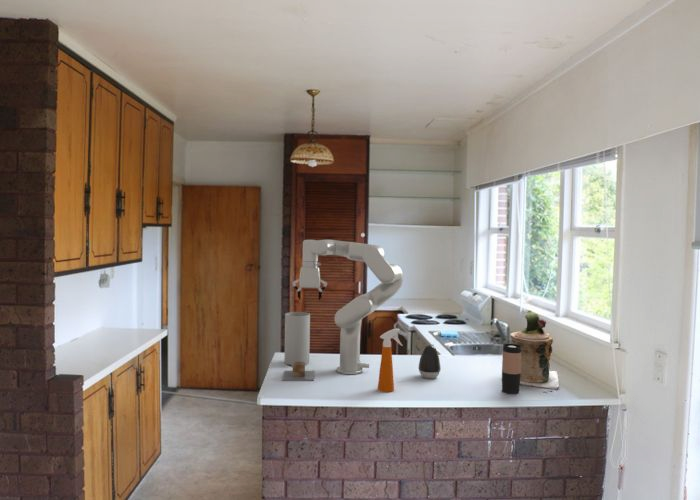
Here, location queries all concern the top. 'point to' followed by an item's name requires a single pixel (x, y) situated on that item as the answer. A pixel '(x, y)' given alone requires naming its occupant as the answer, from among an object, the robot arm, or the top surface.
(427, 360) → the black egg ornament
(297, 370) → the walnut block
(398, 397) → the top surface
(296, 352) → the cylinder vase
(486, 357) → the top surface
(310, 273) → the robot arm
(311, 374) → the slate coaster
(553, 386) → the cookie jar
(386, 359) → the spray bottle
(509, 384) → the travel mug
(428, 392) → the top surface
